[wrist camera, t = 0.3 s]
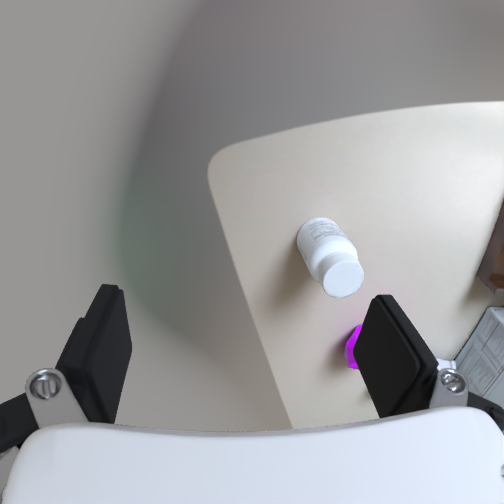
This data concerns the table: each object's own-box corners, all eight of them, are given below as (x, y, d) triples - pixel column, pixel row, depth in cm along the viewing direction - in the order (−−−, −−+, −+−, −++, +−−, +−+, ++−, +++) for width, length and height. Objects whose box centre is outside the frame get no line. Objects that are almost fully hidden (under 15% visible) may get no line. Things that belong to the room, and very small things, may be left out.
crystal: (340, 327, 36) (352, 354, 32) (381, 316, 36) (396, 341, 32) (340, 355, 39) (350, 381, 35) (377, 345, 39) (390, 369, 35)
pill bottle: (325, 263, 32) (350, 309, 25) (288, 248, 31) (306, 294, 24) (347, 226, 30) (380, 266, 23) (309, 209, 29) (336, 246, 22)
